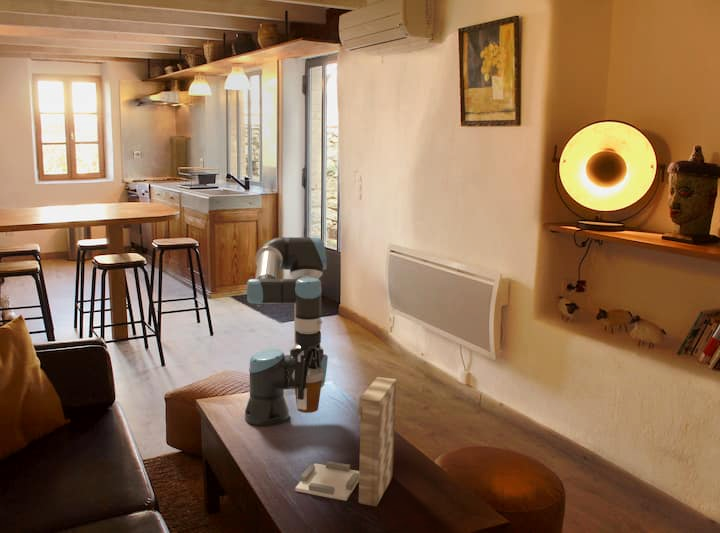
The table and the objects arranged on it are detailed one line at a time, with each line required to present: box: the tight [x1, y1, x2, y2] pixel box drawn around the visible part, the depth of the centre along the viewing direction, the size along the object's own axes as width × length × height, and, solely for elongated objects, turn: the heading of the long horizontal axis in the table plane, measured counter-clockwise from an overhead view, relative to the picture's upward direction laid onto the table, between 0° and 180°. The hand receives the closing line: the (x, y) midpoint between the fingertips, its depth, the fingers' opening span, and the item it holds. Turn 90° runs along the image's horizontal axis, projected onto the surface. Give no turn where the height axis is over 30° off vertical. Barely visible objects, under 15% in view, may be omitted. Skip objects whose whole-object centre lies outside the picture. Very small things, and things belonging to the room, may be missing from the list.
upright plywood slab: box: [358, 376, 397, 507], centre depth 190 cm, size 17×6×30 cm, turn 162°
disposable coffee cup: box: [292, 368, 324, 414], centre depth 206 cm, size 10×10×12 cm
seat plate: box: [294, 460, 359, 501], centre depth 195 cm, size 15×15×2 cm
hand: (307, 403), depth 206 cm, fingers closed on disposable coffee cup, 8 cm apart
